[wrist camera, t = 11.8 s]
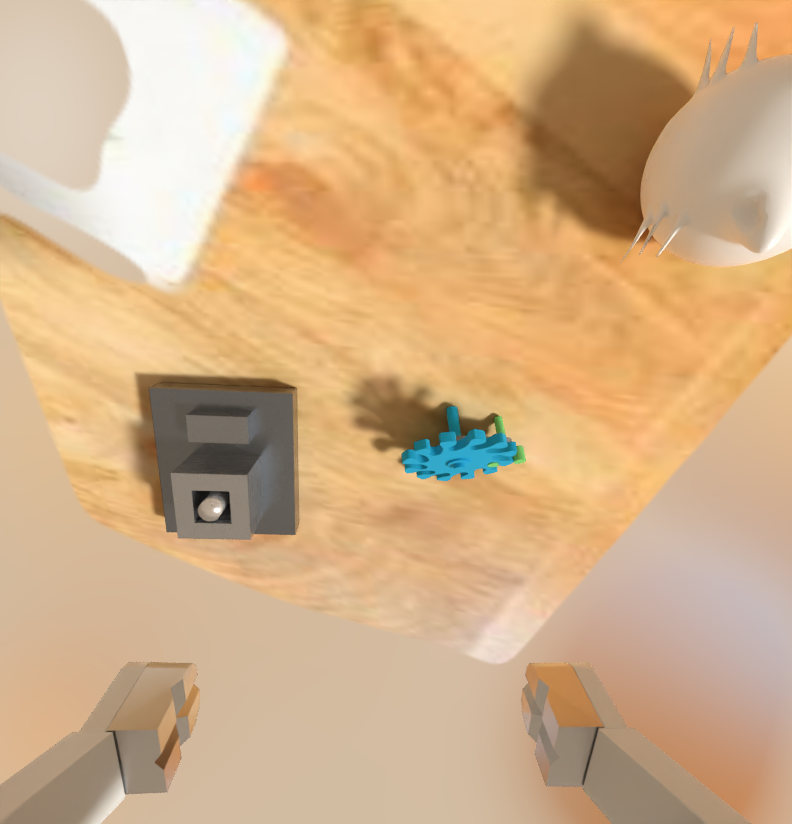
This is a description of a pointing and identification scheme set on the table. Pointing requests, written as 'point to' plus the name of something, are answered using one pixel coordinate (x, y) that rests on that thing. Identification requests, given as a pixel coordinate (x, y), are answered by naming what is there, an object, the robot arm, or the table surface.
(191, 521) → the collar
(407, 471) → the gear
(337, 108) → the table surface
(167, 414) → the shaft stand
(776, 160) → the cat head
